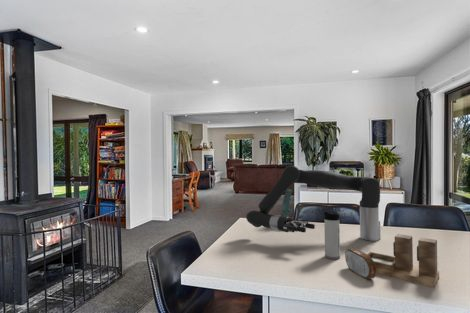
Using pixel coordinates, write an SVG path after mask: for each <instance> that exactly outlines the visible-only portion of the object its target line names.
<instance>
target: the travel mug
mask: <svg viewBox="0 0 470 313" xmlns="http://www.w3.org/2000/svg"><path fill="white" fill-rule="evenodd" d="M323 214H324V219H323V220H324V223H323V224H324V225H323V226H324V257H325V258H326V259H329V260H339V259H340V258H341V250H340V248H341V243H340V242H341V238H340V237H341V236H340V233H341V232H340V231H341V230H340V213H337V212H334V211H323Z"/></svg>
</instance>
